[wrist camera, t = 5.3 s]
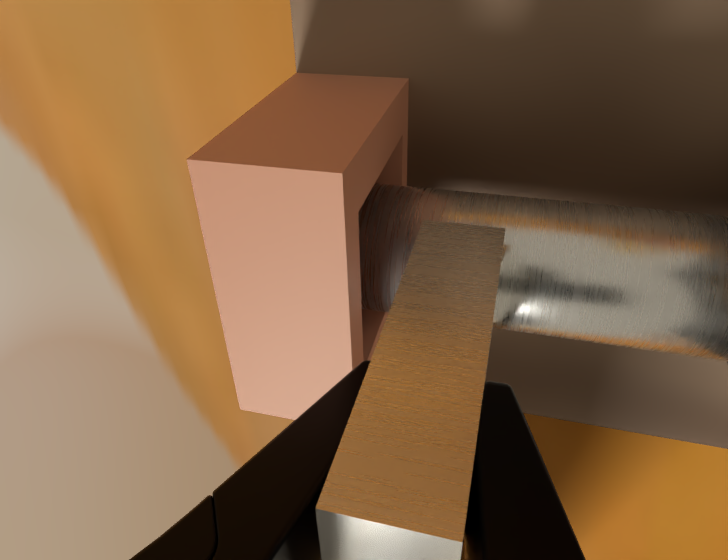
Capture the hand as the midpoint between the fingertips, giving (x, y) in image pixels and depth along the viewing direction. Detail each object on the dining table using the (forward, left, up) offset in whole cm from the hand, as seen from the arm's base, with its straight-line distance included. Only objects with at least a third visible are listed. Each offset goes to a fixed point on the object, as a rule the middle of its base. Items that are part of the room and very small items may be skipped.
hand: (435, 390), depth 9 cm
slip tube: (0, -2, -5) cm, 6 cm away
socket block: (0, +3, -8) cm, 8 cm away
